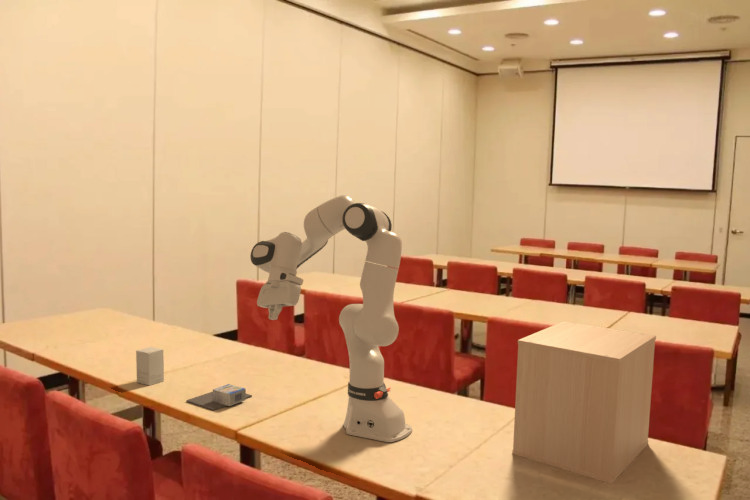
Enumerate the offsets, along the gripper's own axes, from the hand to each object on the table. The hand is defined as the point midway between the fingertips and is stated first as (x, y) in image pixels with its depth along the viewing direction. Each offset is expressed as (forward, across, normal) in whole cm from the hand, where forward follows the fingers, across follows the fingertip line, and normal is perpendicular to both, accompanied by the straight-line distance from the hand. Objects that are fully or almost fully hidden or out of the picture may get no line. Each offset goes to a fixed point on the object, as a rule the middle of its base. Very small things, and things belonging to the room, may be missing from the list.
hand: (272, 319), depth 213 cm
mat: (+27, -31, +5) cm, 42 cm away
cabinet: (+24, +72, +72) cm, 105 cm away
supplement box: (+25, -64, -8) cm, 70 cm away
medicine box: (+26, -21, +6) cm, 34 cm away
